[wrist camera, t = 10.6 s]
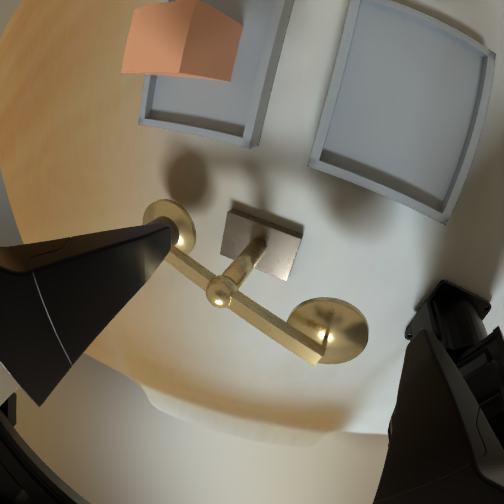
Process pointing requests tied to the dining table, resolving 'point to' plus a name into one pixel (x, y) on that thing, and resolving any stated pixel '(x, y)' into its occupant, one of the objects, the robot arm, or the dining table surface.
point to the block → (182, 41)
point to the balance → (271, 262)
